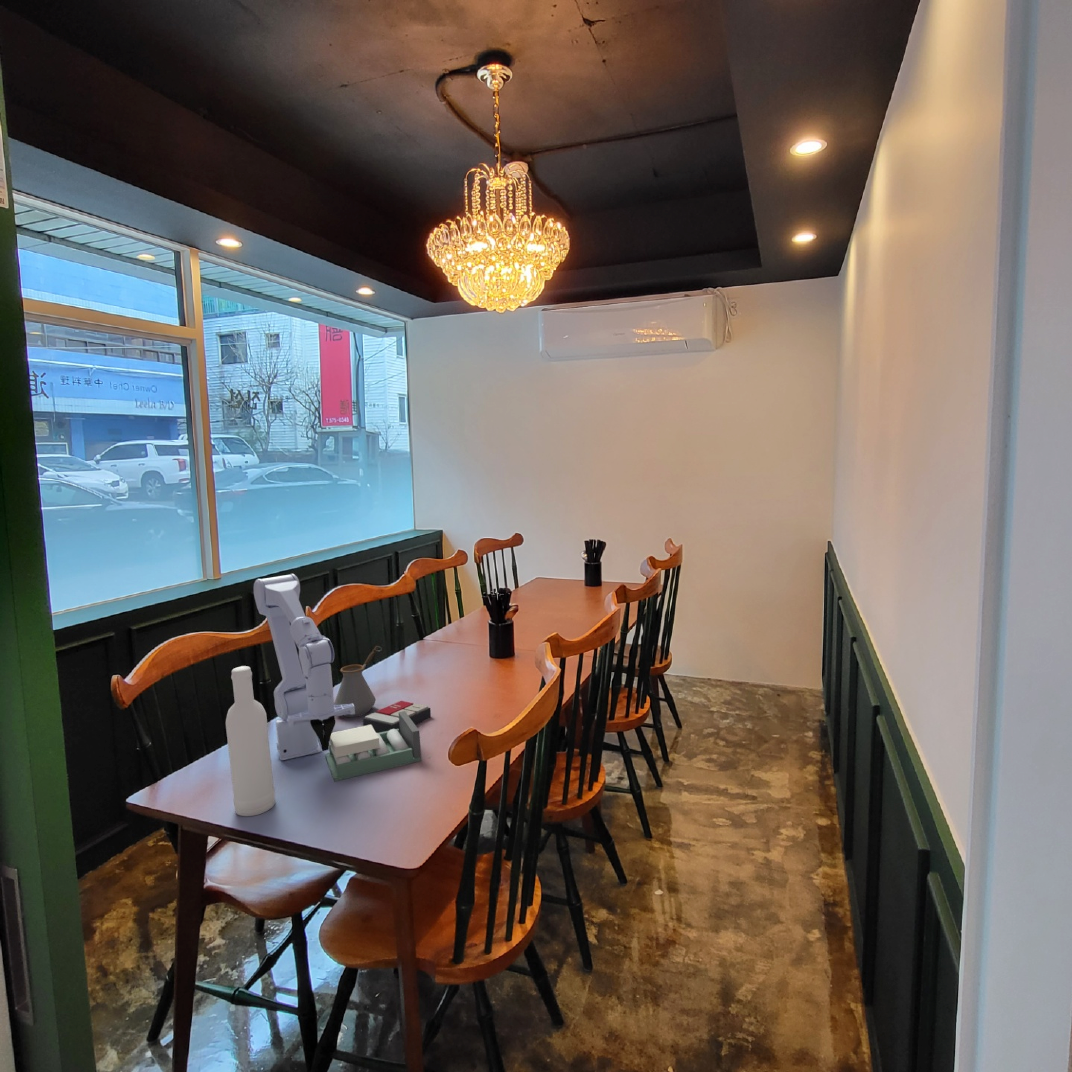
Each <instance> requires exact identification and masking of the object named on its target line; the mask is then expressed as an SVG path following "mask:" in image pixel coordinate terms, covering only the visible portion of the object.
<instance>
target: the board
mask: <svg viewBox="0 0 1072 1072" xmlns="http://www.w3.org/2000/svg"><path fill="white" fill-rule="evenodd" d="M329 743H330V745H331V747H332V750H333V752H334V755H335V757H336V758H337V757H341V756H345V755H350V754H354V753H359V752H363V751H368V750H372V749H377V748H380V745H379V737H378V735H377V734H376V732H375V730H374V729H373V727H372V725H367V726H363V725H362V726H358V727H353V728H352V727H351V728H348V729H344V730H338V731H334V732H333V731H332V733H331V737H330V741H329Z"/></svg>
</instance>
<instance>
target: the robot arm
mask: <svg viewBox="0 0 1072 1072" xmlns="http://www.w3.org/2000/svg"><path fill="white" fill-rule="evenodd" d="M300 593H301V583H300V580H299V578H298V576H297V575H296V574H294V573H290V574H286V575H278V576H273V577H267V578H257V579H255V581H254V583H253V596H254V600H255V601H254V602H255V605H256V608H257V610H258V613H259V615H263V616H265V617H266V620H267V624H268V626H269V630H270V634H271V638H272V641H273V646H274V650H275V654H276V658H277V661H278V663H277V664H278V666H279V670H280V674H281V677H282V679H281V681H280V682H279V683H278V684H277V686H276V687H275V688H274V691H273V697H274V698H273V699H274V707H275V712H276V715H277V717H279V719H275V729H276V737H277V738H276V739H277V740H276V741H277V742H276V750H277V751H278V755H279V759H280V761H284V760H285V761H287V760H290V759H291V760H292V759H294V758H295V759H296V758H299V757H305V756H308V755H313V754H318V753H321V752H324V751H329V743H330V737H331V733H333V730H334V728H335V726H336V717H339V716H343V715H346V714H355V708H354V704H353V703H352V704H345V705H334V703H335V700H334V688H333V677H332V666H331V664H333V662H334V660H335V650H334V647H333V646H334V645H333V644H332V642H331V640H330V639H329V638H328V637H326V636H325V635H322V634H321V632H320V630H319V628H318V627H317V625H316V624H315V623H316V622H315V621H314V620H313V618H311V617H310V616H306V614H305V612H304V609H303V607H302V604H301V601H300ZM297 648H298V651H297ZM302 672H303V673H302ZM302 687H304V688H302ZM322 722H323V724H322Z"/></svg>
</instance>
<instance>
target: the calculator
mask: <svg viewBox="0 0 1072 1072" xmlns="http://www.w3.org/2000/svg"><path fill="white" fill-rule="evenodd" d="M403 711H405V712H406V713H407V715H408V716H409V717H410V719H411V720H412V721H413V723H414V724H415V725H416V726H417V725H419V724H421V723H423V722H425V721H427V720H428V719H430V718H431V716H432V715H431V714H432V713H431V707H429V706H428V705H425V704H419V703H414V702H409V701H405V700H401V701H398V702H397V701H396V702H395V703H392V704H391V705H388V706H386V707H384V708H380V709H378V710H376V712H373V713H370V714H368V715H366V716H364V717H363V718H362V726H367V725H372V727H373V729H374V730H375V732H376V733H380V732H385V731H389V730H391V729H399V733H400V725H399V712H403Z"/></svg>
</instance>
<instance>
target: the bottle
mask: <svg viewBox="0 0 1072 1072" xmlns="http://www.w3.org/2000/svg"><path fill="white" fill-rule="evenodd" d="M230 678H231V680H232V689H233V697H234V698H233V699H234V703H233V704H232V705H231V706H230V707H229V708H228V711H227V714H226V718H225V729H226V730H225V731H226V737H227V747H228V755H229V756H228V757H229V765H230V774H231V775H230V776H231V782H232V783H231V785H232V793H233V806H234V811H235V813H236V814H237V815H238V816H241V817H253V816H258V815H261V814H263V813H266V812H267V811H269V810H270V809H272V808H273V807H274V806H275V804H276V794H275V793H276V792H275V786H274V777H273V768H272V767H273V766H272V758H271V748H270V738H269V728H268V719H267V712H266V709H265V708H264V706H263V705H262V703H261V702H259V701H258V700H256V699H255V697H254V689H253V680H252V679H253V672H252V670H251V667H250V666H246V665H241V666H238V667H235V668H234V667H233V669H232V670H231V676H230Z"/></svg>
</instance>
